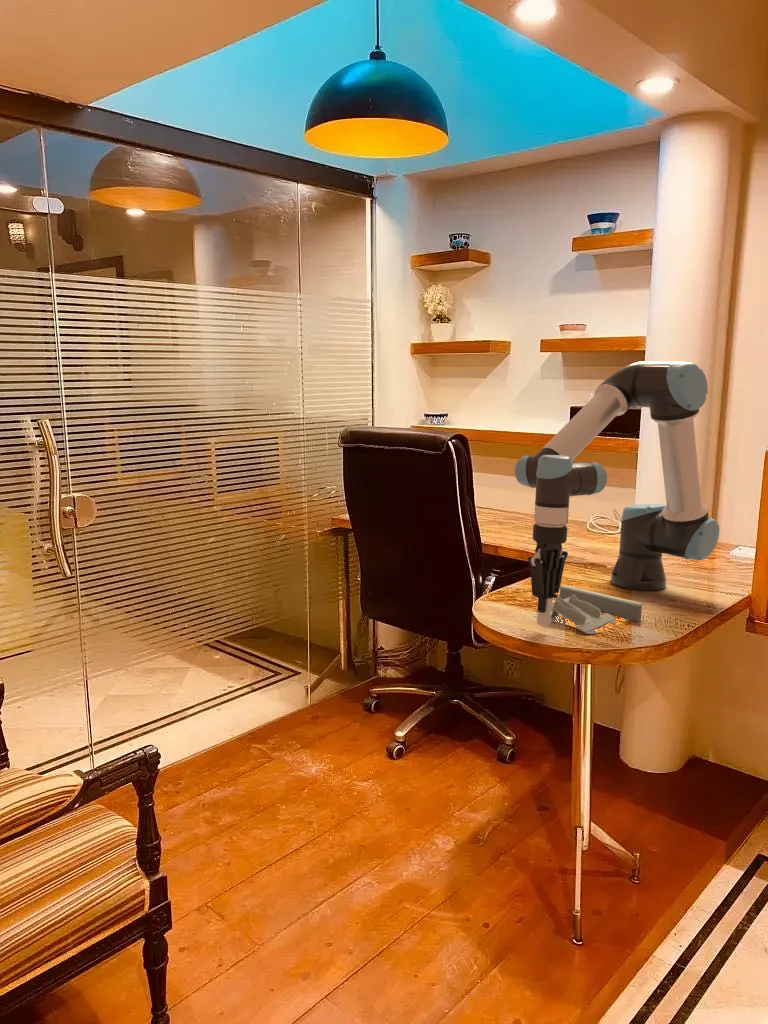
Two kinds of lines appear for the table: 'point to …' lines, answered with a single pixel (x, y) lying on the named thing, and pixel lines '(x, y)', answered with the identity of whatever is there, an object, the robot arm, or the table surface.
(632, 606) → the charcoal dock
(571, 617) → the metal bracket
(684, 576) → the table surface
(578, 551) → the table surface
